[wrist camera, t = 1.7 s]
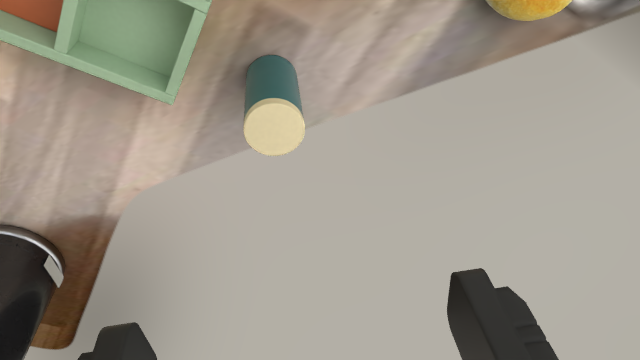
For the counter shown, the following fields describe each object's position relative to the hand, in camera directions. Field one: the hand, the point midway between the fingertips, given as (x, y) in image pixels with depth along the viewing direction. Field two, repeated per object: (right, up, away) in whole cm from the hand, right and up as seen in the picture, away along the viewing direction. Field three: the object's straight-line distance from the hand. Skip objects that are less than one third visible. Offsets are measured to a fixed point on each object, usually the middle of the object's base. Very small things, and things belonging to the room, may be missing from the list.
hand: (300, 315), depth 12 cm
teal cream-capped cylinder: (-3, +12, +24) cm, 27 cm away
